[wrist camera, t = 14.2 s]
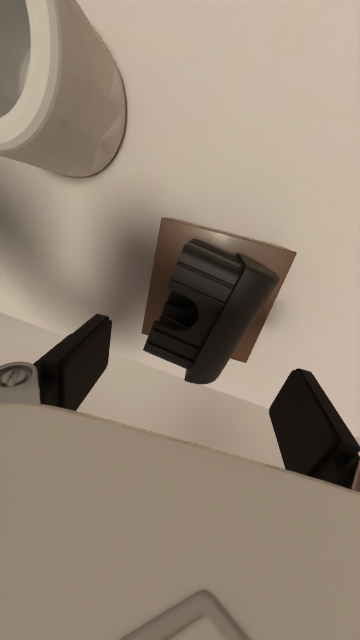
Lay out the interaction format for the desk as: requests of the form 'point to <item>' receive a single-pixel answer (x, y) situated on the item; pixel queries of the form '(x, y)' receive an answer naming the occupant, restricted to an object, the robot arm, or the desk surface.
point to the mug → (57, 89)
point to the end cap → (209, 309)
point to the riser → (182, 232)
